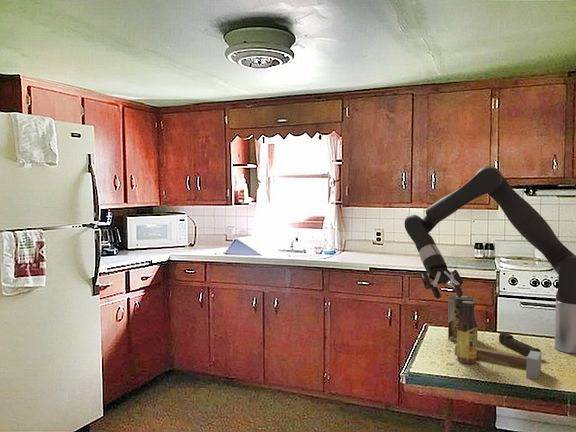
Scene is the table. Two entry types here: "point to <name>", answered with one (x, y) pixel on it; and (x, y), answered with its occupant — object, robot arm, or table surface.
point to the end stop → (533, 365)
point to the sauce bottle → (467, 334)
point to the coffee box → (455, 314)
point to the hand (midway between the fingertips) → (450, 296)
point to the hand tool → (515, 344)
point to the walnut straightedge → (500, 357)
